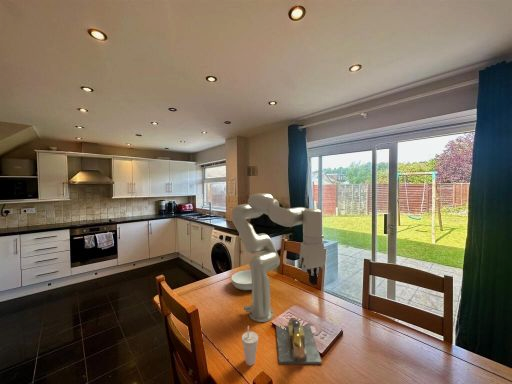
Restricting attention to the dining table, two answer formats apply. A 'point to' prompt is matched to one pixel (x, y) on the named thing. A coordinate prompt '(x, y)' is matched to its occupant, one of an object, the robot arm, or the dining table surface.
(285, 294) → the dining table surface
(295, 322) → the lever
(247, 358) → the smoothie
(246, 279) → the serving bowl
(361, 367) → the dining table surface
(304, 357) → the valve body
